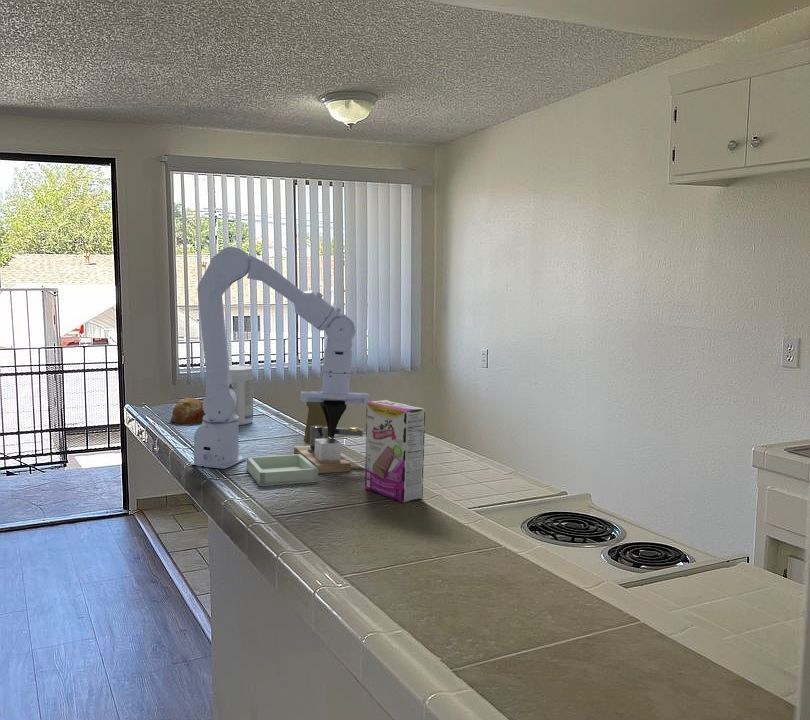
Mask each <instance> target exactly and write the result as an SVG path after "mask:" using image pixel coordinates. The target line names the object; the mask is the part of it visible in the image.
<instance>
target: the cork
mask: <svg viewBox="0 0 810 720" xmlns="http://www.w3.org/2000/svg"><path fill="white" fill-rule="evenodd" d="M305 404H306V407H307V408H308V409H307V415H306V416H307V418H306V423H305V424H306V425H305V431H304V437H303V441H304V442H306V443H310V427H311V426H324V427H327V422H326V418H325V415H324V412H323V410H322V407H321V405H320V402H305ZM325 438H330V437H329V436H328V434H324V439H325Z"/></svg>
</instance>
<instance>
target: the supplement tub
mask: <svg viewBox="0 0 810 720" xmlns="http://www.w3.org/2000/svg"><path fill="white" fill-rule="evenodd" d="M229 369H230V374H231V379H232V385H233V388H234V389H235V391H236V392H237V394H238V404H237V406H236V408H235V410H234V412H235V414H236V415H237V416H239V426H245V425H249V424H251V423H252V422H253V420H254V372H253V367H252V366H249V365H248V366H246V365H229Z"/></svg>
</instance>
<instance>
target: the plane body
mask: <svg viewBox="0 0 810 720" xmlns="http://www.w3.org/2000/svg"><path fill="white" fill-rule="evenodd" d="M293 454H301V455H302V456H303V457H305V458H306V459H307V460H308V461H309V462H311V463H312V464H313V465H314V466H315V467H317V468H318V474H324V473H325V474H326V473H327V474H328V473H341V472H351V466H352V465H351V462H350V461H349V460H347V459H345V458H344V457H343V456H340V461H339V462H324V463H321V462H320V461H319V460H317V459H316V458H315V457H314V455H315V450H314V449H310V445H296V446H295V445H294V446H293Z"/></svg>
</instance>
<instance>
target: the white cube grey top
mask: <svg viewBox="0 0 810 720" xmlns="http://www.w3.org/2000/svg"><path fill="white" fill-rule="evenodd" d="M341 444H342V442H341V441H338V439H336V438H335V437H329V438H325V439H315V455H314V457H315V458H316V459H317V460H319V461H320V462H321V463H324V462H339V461H340V456H341V454H342V453H341V452H342V451H341V450H342V449H341V448H342V447H341V446H342V445H341ZM341 457H342V456H341Z"/></svg>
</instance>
